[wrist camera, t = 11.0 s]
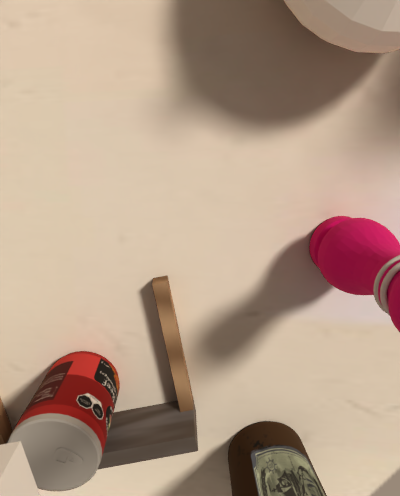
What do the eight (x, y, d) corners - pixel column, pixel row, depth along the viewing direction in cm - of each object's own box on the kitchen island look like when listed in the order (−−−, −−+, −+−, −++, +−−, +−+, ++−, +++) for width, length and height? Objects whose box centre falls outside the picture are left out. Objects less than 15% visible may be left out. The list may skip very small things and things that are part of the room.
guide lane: (-46, 314, 39) (-86, 342, 33) (167, 275, 39) (165, 297, 33) (5, 445, 43) (-23, 491, 37) (195, 410, 43) (197, 450, 38)
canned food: (119, 409, 43) (99, 494, 32) (49, 405, 42) (5, 491, 32) (122, 351, 41) (102, 421, 30) (49, 346, 40) (3, 416, 30)
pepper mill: (319, 202, 38) (465, 255, 18) (381, 222, 39) (583, 292, 19) (294, 266, 39) (404, 376, 20) (354, 284, 40) (515, 406, 21)
